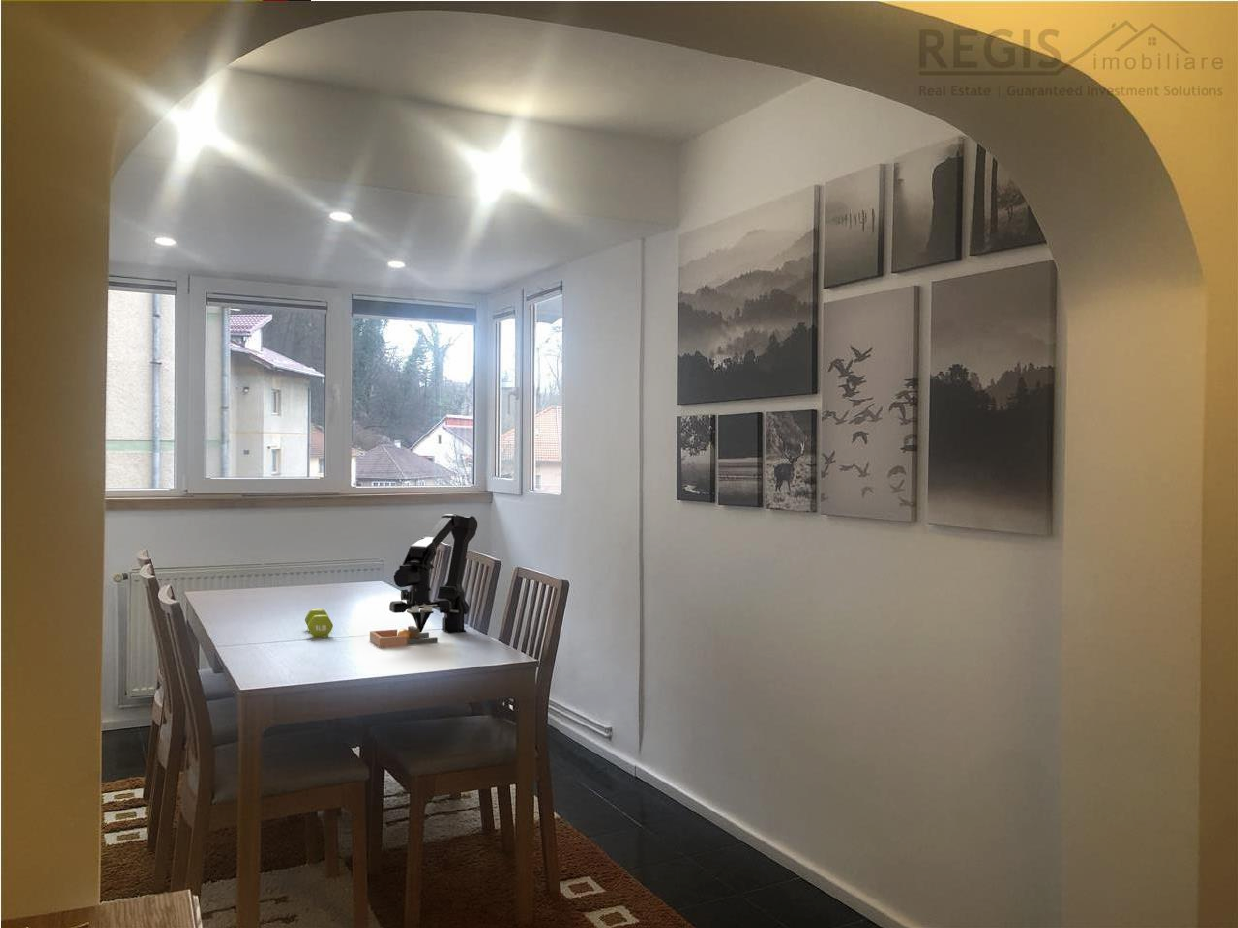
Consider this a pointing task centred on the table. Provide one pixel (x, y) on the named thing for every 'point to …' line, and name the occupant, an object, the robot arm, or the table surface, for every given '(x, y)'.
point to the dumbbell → (318, 623)
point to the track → (422, 639)
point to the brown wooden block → (413, 632)
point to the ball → (404, 633)
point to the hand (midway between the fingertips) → (419, 632)
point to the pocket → (387, 638)
